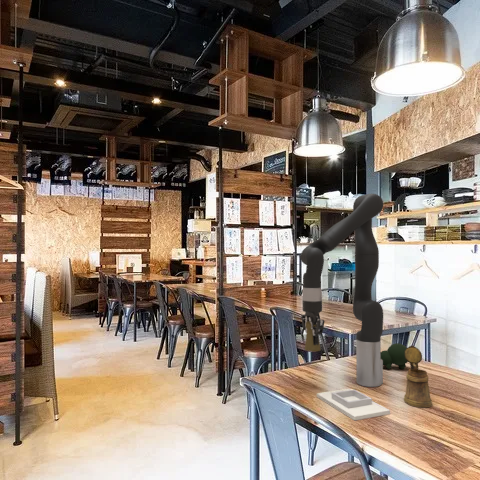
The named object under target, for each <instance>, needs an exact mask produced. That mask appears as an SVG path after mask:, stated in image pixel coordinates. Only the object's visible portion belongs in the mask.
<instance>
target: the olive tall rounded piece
mask: <svg viewBox="0 0 480 480" xmlns="http://www.w3.org/2000/svg"><path fill="white" fill-rule="evenodd" d="M313 326H314V327H316V325H313ZM305 327H306V328H307V333H306V335H305V343H304V344H305V345H304V350H305V351H307V352H320V351H321V344H320V341H319V345H317V344H316V345H314V344H313V332H312V329H311V323H310V322H309V321H307V322H306V326H305ZM315 331H316V329H315Z"/></svg>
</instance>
